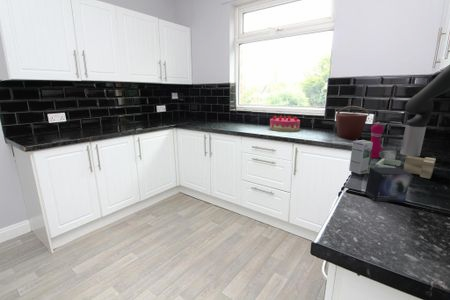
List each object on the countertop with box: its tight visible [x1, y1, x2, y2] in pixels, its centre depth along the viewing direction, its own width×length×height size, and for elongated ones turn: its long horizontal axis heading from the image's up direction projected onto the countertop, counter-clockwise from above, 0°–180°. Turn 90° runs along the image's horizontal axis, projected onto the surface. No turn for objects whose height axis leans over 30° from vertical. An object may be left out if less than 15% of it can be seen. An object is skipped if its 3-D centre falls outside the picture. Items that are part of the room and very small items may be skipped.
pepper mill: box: [369, 121, 385, 159], centre depth 132 cm, size 7×7×20 cm
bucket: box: [335, 105, 371, 140], centre depth 188 cm, size 24×22×25 cm
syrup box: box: [348, 139, 373, 175], centre depth 106 cm, size 6×6×14 cm
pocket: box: [374, 157, 402, 168], centre depth 115 cm, size 15×8×2 cm, turn 135°
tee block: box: [402, 155, 437, 180], centre depth 107 cm, size 10×10×7 cm
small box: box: [364, 166, 413, 203], centre depth 80 cm, size 11×6×10 cm, turn 90°
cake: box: [269, 115, 301, 133], centre depth 226 cm, size 28×28×12 cm
